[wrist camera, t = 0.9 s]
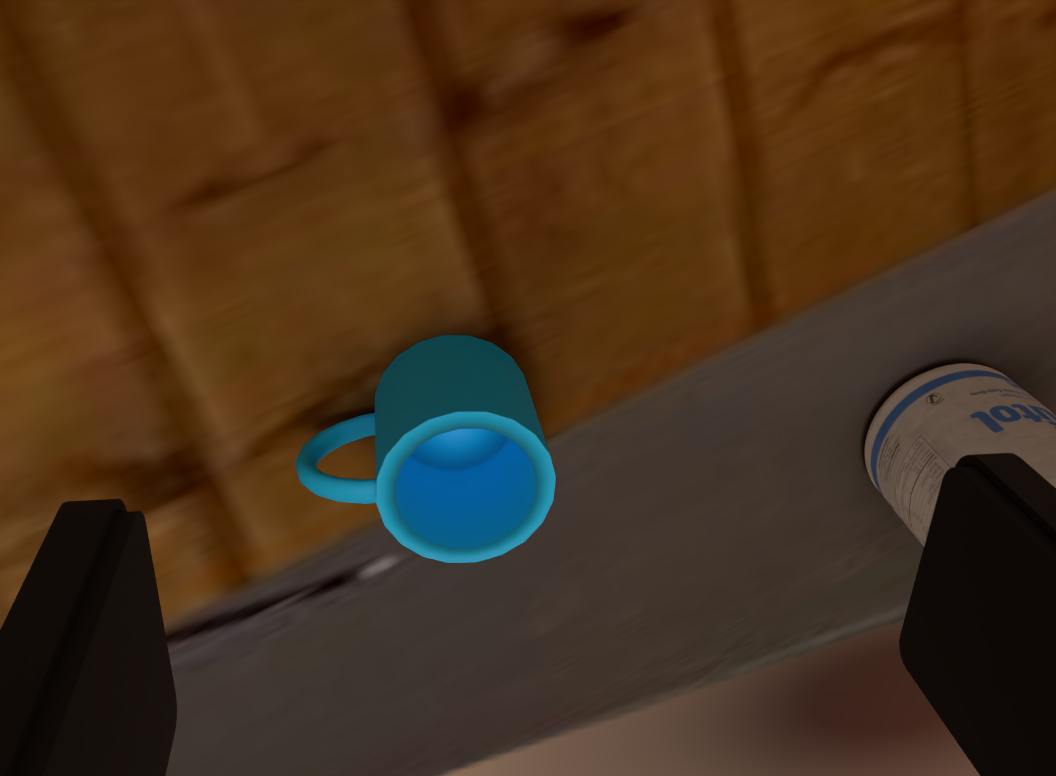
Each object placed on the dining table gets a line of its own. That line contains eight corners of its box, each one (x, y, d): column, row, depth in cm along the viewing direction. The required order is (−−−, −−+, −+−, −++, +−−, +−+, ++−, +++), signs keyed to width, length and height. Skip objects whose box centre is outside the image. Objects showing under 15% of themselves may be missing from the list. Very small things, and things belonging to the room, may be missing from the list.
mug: (523, 324, 50) (550, 399, 42) (534, 459, 53) (561, 549, 46) (285, 355, 48) (271, 437, 41) (314, 491, 52) (306, 588, 45)
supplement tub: (1031, 351, 55) (1236, 495, 42) (994, 492, 59) (1170, 661, 46) (869, 363, 54) (1029, 515, 41) (844, 506, 58) (981, 684, 45)
